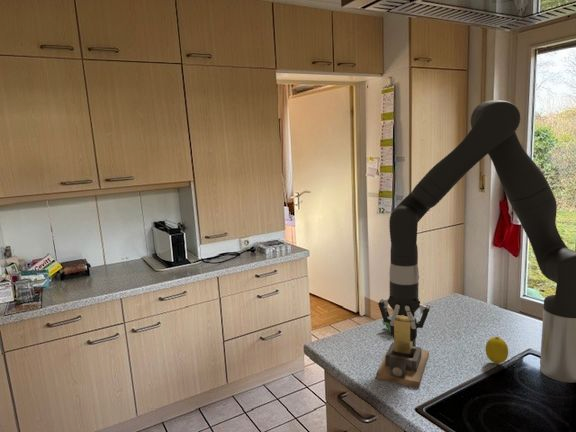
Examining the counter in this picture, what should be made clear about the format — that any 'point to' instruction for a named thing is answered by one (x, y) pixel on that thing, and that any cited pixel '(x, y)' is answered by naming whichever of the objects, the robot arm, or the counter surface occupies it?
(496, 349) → the lemon
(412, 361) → the shaft rig
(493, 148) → the robot arm
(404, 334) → the block
